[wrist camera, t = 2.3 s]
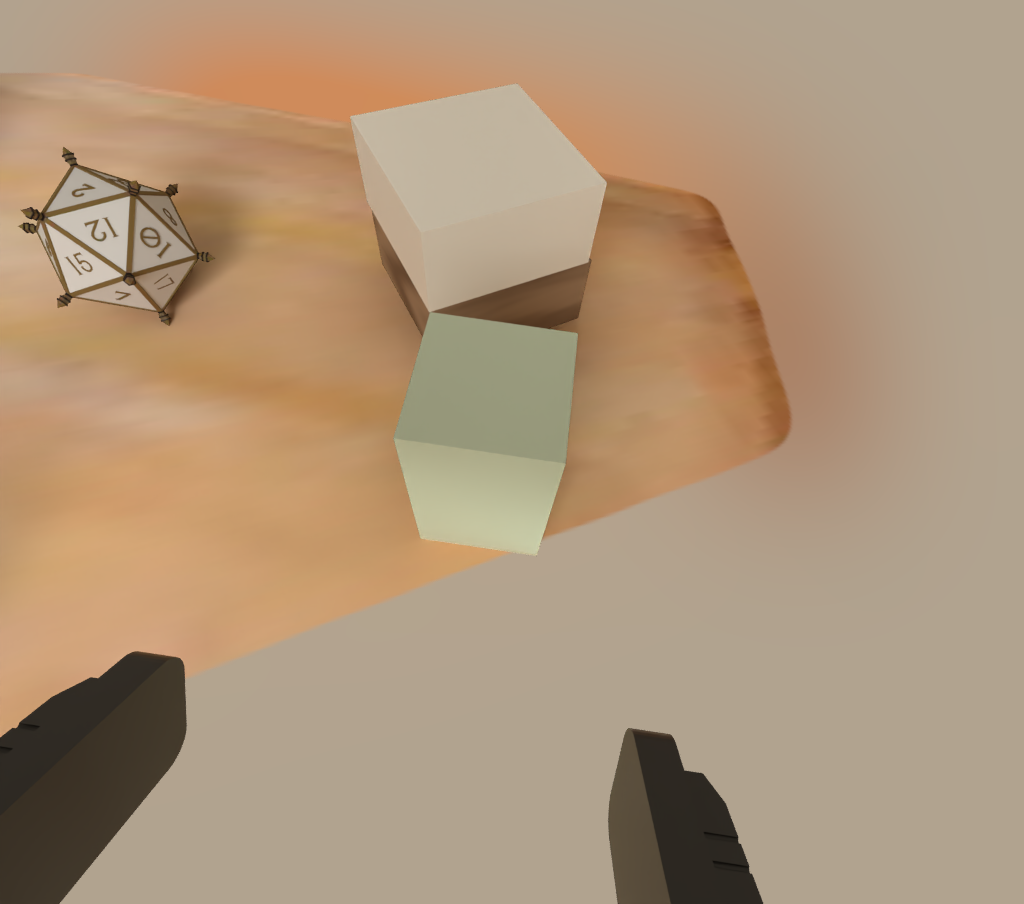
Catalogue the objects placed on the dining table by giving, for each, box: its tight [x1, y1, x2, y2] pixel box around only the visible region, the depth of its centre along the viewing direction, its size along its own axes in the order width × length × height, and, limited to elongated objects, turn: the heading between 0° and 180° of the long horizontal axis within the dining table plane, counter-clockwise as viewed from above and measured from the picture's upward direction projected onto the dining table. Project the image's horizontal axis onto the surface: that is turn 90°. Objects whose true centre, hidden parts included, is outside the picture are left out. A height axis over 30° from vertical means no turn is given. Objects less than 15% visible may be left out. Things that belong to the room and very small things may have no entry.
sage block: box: [393, 312, 578, 556], centre depth 24 cm, size 6×6×10 cm
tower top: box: [350, 84, 607, 312], centre depth 29 cm, size 10×10×5 cm
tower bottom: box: [372, 211, 591, 336], centre depth 34 cm, size 10×10×5 cm
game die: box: [19, 147, 215, 325], centre depth 30 cm, size 9×8×10 cm
